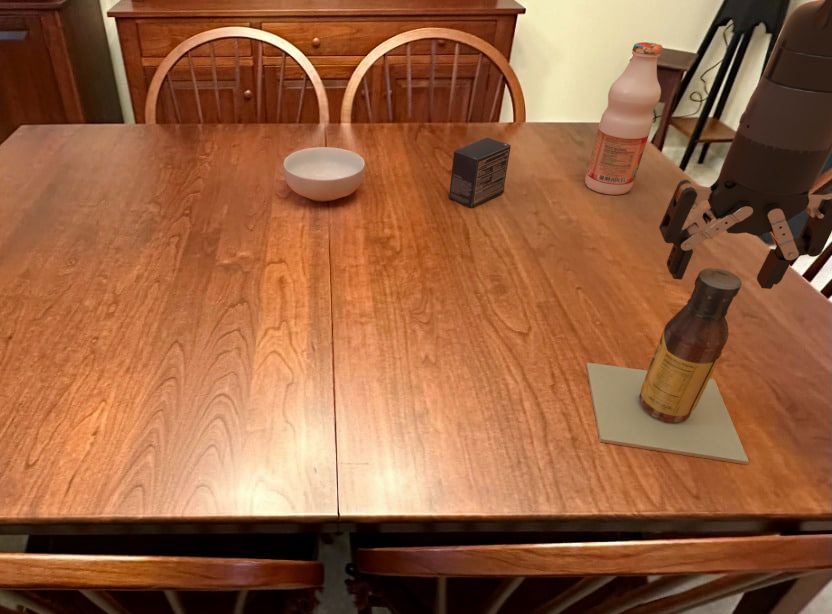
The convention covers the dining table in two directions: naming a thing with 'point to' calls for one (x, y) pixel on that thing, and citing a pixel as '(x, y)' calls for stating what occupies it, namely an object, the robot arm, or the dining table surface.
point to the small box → (479, 172)
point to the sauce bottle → (690, 348)
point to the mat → (637, 428)
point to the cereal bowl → (324, 172)
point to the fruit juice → (625, 123)
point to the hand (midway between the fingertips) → (718, 280)
